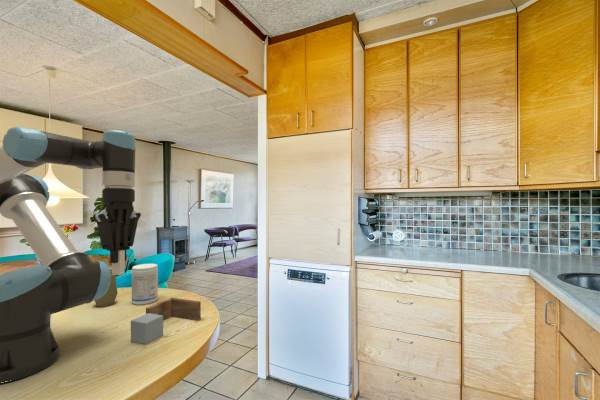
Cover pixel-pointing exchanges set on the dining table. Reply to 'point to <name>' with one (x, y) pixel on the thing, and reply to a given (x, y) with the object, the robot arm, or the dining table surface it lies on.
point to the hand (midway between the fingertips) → (118, 274)
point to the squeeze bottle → (111, 293)
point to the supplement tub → (144, 283)
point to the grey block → (146, 328)
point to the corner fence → (177, 309)
